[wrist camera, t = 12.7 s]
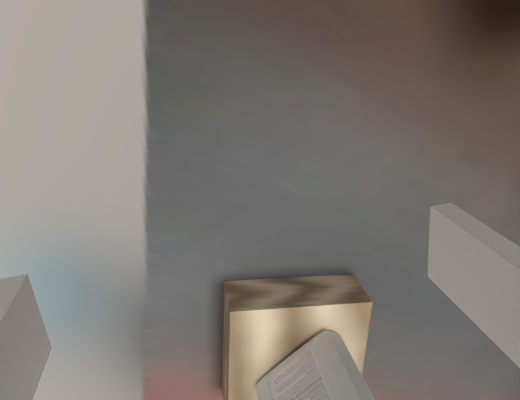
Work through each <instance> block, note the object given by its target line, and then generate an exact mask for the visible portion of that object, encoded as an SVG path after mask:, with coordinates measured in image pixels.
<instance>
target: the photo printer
mask: <svg viewBox="0 0 520 400" xmlns="http://www.w3.org/2000/svg"><path fill="white" fill-rule="evenodd" d="M256 393H257V397H258V400H374V398H373V396H372V394H371V392H370V390H369V388H368V386H367V384H366V383H365V381H364V379H363V377H362V375H361V373H360V371H359V369H358V367H357V365H356V363H355V362H354V360H353V358H352V356H351V354H350V352H349V350H348V348H347V347H346V345H345V343H344V341H343V339H342V338H341V336H340V335H338V334H337V333H335V332H332V331H323V332H321V333H320V334H318V335H317V336H315V337H314V338H312V339H311V340H310V341H308V342H307V343H306V344H304V345H303V346H302V347H301V348H299V349H298V350H297V351H295V352H294V353H293V354H292V355H290V356H289V357H288V358H287V359H285V360H284V361H283V362H282V363H280V364H279V365H278V366H277V367H275V368H274V369H273V370H271V371H270V372H269V373H268V374H267V375H266V376H264V377H263V378H262V379H261V380H260V381H259V382H258V384H257V385H256Z"/></svg>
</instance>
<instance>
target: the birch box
mask: <svg viewBox="0 0 520 400" xmlns="http://www.w3.org/2000/svg"><path fill="white" fill-rule="evenodd" d="M371 308H372V301H371V299H370V298H369V297H368V295H367V294H366V292H365V291H364V290H363V288H362V287H361V286H360V284H359V283H358V281H357V280H356V279H355V277H354V276H353V275H352V274H344V275H326V276H308V277H290V278H272V279H254V280H236V281H224V299H223V369H222V391H223V398H224V400H258V397H257V393H256V385H257V384H258V382H259V381H260V380H261V379H262V378H263V377H264V376H266V375H267V374H268V373H269V372H270V371H271V370H273V369H274V368H275V367H277V366H278V365H279V364H280V363H282V362H283V361H284V360H285V359H287V358H288V357H289V356H290V355H292V354H293V353H294V352H295V351H297V350H298V349H299V348H301V347H302V346H303V345H304V344H306V343H307V342H308V341H310V340H311V339H312V338H314V337H315V336H317V335H318V334H320V333H321V332H323V331H332V332H335V333H337V334H338V335H340V336H341V338H342V339H343V341H344V343H345V345H346V347H347V348H348V350H349V352H350V354H351V356H352V358H353V360H354V362H355V363H356V365H357V367H358V369H359V371H360V373H361V375H362V371H363V364H364V357H365V350H366V343H367V336H368V329H369V322H370V315H371Z"/></svg>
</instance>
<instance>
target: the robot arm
mask: <svg viewBox="0 0 520 400" xmlns="http://www.w3.org/2000/svg"><path fill="white" fill-rule="evenodd" d="M428 277H429V278H430V279H431V280H432V281H433V282H434V283H435V284H436V285H437V286H438V287H439V288H440V289H441V290H442V291H443V292H444V293H445V294H446V295H447V296H448V297H449V298H450V299H451V300H452V301H453V302H454V303H455V304H456V305H457V306H458V307H459V308H460V309H461V310H462V311H463V312H464V313H465V314H466V315H467V316H468V317H469V318H470V319H471V320H472V321H473V322H474V323H475V324H476V325H477V326H478V327H479V328H480V329H481V330H482V331H483V332H484V333H485V334H486V335H487V336H488V337H489V338H490V339H491V340H492V341H493V342H494V343H495V344H496V345H497V346H498V347H499V348H500V349H501V350H502V351H503V352H504V353H505V354H506V355H507V356H508V357H509V358H510V359H511V360H512V361H513V362H514V363H515V364H516V365H517V366H518V367H519V368H520V247H519V246H517V245H516V244H514V243H513V242H511V241H510V240H508V239H507V238H505V237H503V236H502V235H500V234H499V233H497V232H496V231H494V230H493V229H491V228H490V227H488V226H486V225H485V224H483V223H482V222H480V221H479V220H477V219H476V218H474V217H473V216H471V215H469V214H468V213H466V212H465V211H463V210H462V209H460V208H459V207H457V206H455V205H454V204H452V203H447V204H441V205H436V206H430V230H429V254H428ZM50 350H51V344H50V341H49V338H48V335H47V332H46V329H45V326H44V323H43V320H42V317H41V314H40V311H39V308H38V305H37V302H36V299H35V296H34V292H33V289H32V286H31V283H30V280H29V277H28V275H27V274H26V275H21V276H15V277H9V278H3V279H1V280H0V400H32V399H33V396H34V394H35V391H36V388H37V385H38V383H39V380H40V377H41V374H42V372H43V369H44V367H45V364H46V361H47V358H48V356H49V353H50Z"/></svg>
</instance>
